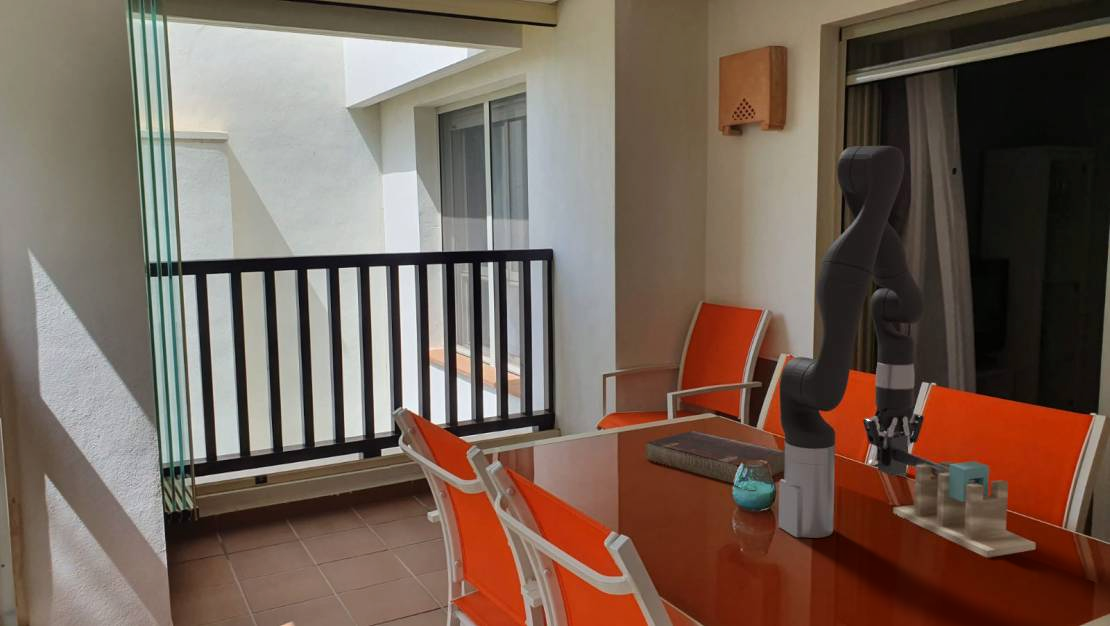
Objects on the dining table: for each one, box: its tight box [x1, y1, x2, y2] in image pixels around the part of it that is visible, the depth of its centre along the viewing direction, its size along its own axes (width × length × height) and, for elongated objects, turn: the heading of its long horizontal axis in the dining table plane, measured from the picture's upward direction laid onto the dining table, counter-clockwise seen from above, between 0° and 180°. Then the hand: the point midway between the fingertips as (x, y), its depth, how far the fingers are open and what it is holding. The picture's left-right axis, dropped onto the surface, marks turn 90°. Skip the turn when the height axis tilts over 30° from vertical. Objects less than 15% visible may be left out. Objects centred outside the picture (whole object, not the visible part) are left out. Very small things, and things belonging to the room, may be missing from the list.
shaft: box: [877, 432, 978, 484], centre depth 171 cm, size 24×4×8 cm, turn 18°
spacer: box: [949, 461, 990, 502], centre depth 160 cm, size 4×6×6 cm, turn 108°
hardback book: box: [645, 430, 785, 484], centre depth 208 cm, size 29×19×5 cm, turn 42°
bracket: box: [892, 460, 1036, 558], centre depth 162 cm, size 24×11×11 cm, turn 18°
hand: (892, 463), depth 180 cm, fingers closed on shaft, 4 cm apart
